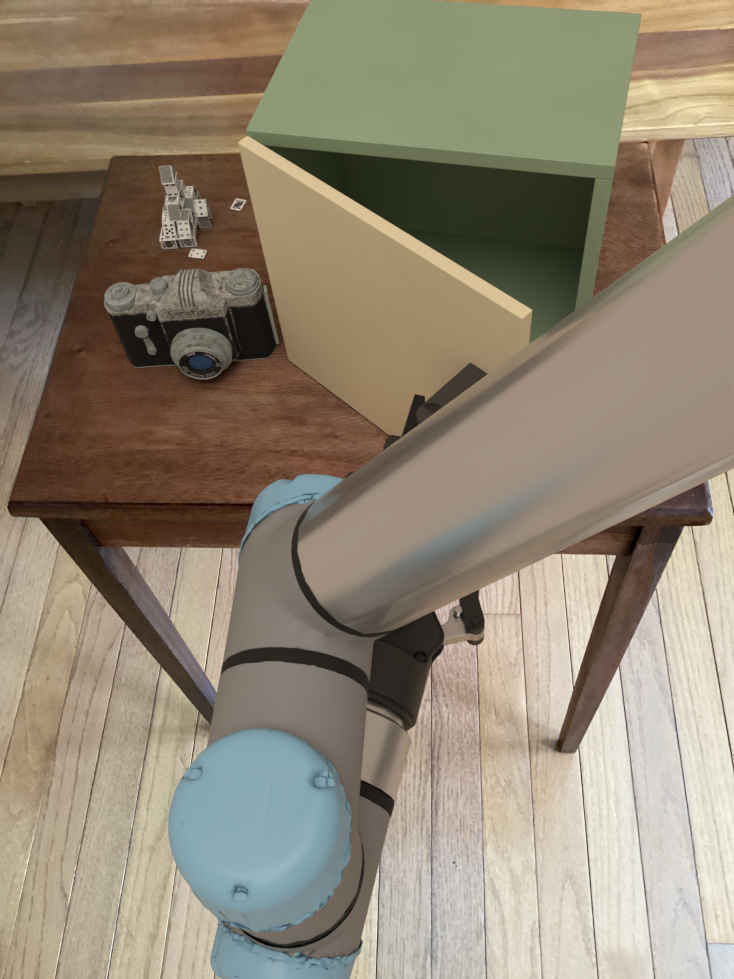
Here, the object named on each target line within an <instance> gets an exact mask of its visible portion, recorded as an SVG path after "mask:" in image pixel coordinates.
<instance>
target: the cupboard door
mask: <svg viewBox="0 0 734 979" xmlns="http://www.w3.org/2000/svg"><path fill="white" fill-rule="evenodd" d="M237 145H238V150H239V153H240V159H241V162H242V168H243V173H244V176H245V181H246V185H247V189H248V193H249V196H250V201H251V206H252V210H253V215H254V219H255V223H256V227H257V232H258V235H259V241H260V244H261V249H262V253H263V257H264V261H265V266H266V271H267V274H268V279H269V284H270V287H271V292H272V295H273V300H274V305H275V308H276V313H277V317H278V322H279V325H280V330H281V334H282V338H283V343H284V347H285V352H286V355H287V360H288V362H289V361H290V363H292V364H293V365H295V366H296V367H298V369H300V370H301V371H302V372H304V373H305V374H307V375H308V376H309V377H311V378H312V379H313V380H315V381H316V382H317V383H319V384H320V385H321V386H323V387H324V388H326V390H328V391H330V392H331V393H332V394H333V395H334V396H336V397H337V398H339V399H340V400H341V401H342V402H344V403H345V404H347V405H348V406H349V407H351V408H352V409H353V410H355V412H357V413H359V414H360V415H361V416H363V417H364V418H365V419H367V420H368V421H369V422H371V423H372V424H374V425H375V426H376V427H378V428H379V429H380V430H382V431H383V433H385V434H387V435H388V436H390V435H396V436H402V433H403V430H404V427H405V423H406V420H407V417H408V414H409V411H410V408H411V404H412V401H413V398H414V395H415V394H417V395H423V396H425V403H423V404H422V405H421V406H420V407H419V408H418V410H417V413H416V417H417V426H418V425H419V424H420V423H422V422H423V421H425V420H426V419H427V418H429V417H430V416H431V415H433V414H434V413H435V412H437V411H438V410H440V409H441V408H442V407H444V406H445V405H446V404H448V403H449V402H450V401H452V400H453V399H455V398H456V397H457V396H459V395H460V394H461V393H463V392H464V391H466V390H467V389H468V388H470V387H471V386H472V385H474V384H475V383H476V382H478V381H479V380H481V379H482V378H483V377H485V376H486V375H487V374H489V373H490V372H492V371H493V370H494V369H496V368H497V367H498V366H500V365H501V364H502V363H504V362H505V361H507V360H508V359H509V358H511V357H512V356H513V355H515V354H516V353H518V352H519V351H520V350H522V349H523V348H524V347H526V346H527V345H528V344H529V339H530V329H531V319H532V309H530V308H529V307H527V306H525V305H524V304H522V303H520V302H519V301H517V300H515V299H514V298H512V297H511V296H509V295H507V294H506V293H504V292H502V291H501V290H499V289H497V288H496V287H494V286H493V285H491V284H489V283H488V282H486V281H484V280H483V279H481V278H479V277H478V276H476V275H475V274H473V273H471V272H470V271H468V270H466V269H465V268H463V267H461V266H460V265H458V264H457V263H455V262H453V261H452V260H450V259H448V258H447V257H445V256H443V255H442V254H440V253H439V252H437V251H435V250H434V249H432V248H430V247H429V246H427V245H425V244H424V243H422V242H421V241H419V240H417V239H416V238H414V237H412V236H411V235H409V234H408V233H406V232H404V231H403V230H401V229H399V228H398V227H396V226H394V225H393V224H391V223H390V222H388V221H386V220H385V219H383V218H381V217H380V216H378V215H376V214H375V213H373V212H372V211H370V210H368V209H367V208H365V207H363V206H362V205H360V204H358V203H357V202H355V201H354V200H352V199H350V198H349V197H347V196H345V195H344V194H342V193H340V192H339V191H337V190H336V189H334V188H332V187H331V186H329V185H327V184H326V183H324V182H322V181H321V180H319V179H318V178H316V177H314V176H313V175H311V174H309V173H308V172H306V171H304V170H303V169H301V168H300V167H298V166H296V165H295V164H293V163H291V162H290V161H288V160H286V159H285V158H283V157H282V156H280V155H278V154H277V153H275V152H273V151H272V150H270V149H269V148H267V147H265V146H264V145H262V144H260V143H259V142H257V141H255V140H254V139H252V138H251V137H249V136H247V135H246V136H244V137H243V138H242V139H240V140H239V141H237Z"/></svg>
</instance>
